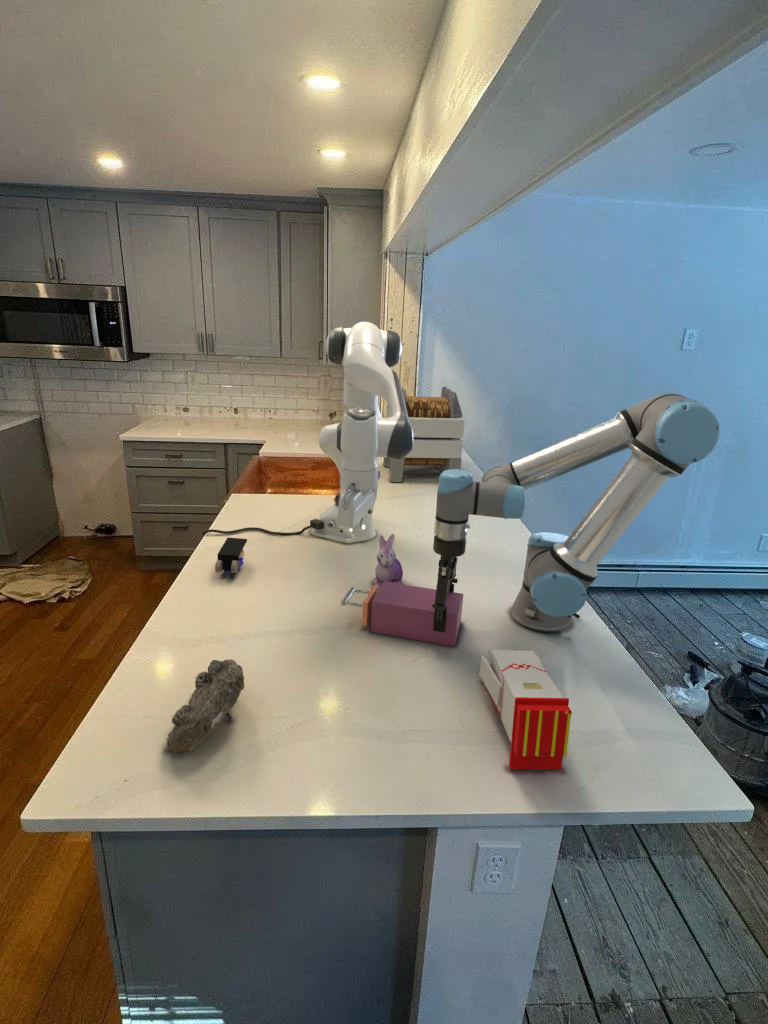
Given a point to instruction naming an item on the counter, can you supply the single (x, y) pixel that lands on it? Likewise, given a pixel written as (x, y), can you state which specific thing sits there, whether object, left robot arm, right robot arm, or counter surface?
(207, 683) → the fossil
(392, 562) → the figurine
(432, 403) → the transformer
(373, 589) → the drawer
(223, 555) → the figurine character
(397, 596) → the cabinet
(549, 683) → the toy
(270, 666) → the counter surface
